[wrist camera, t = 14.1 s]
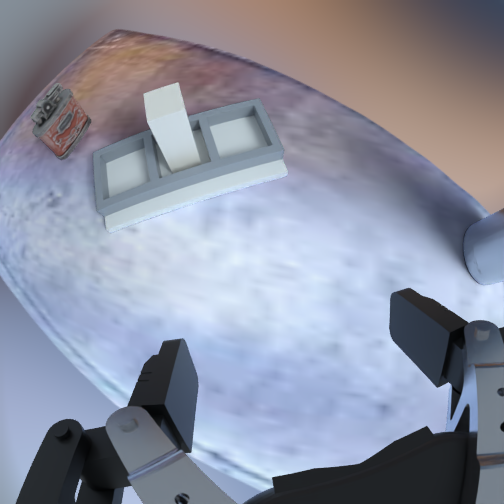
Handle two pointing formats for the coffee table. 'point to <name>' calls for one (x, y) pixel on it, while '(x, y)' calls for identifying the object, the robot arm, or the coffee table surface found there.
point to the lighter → (60, 121)
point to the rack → (193, 179)
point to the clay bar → (171, 127)
